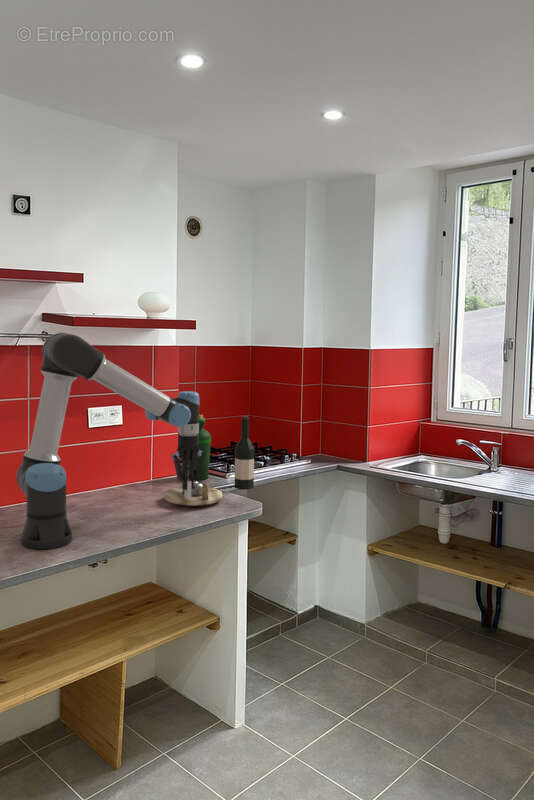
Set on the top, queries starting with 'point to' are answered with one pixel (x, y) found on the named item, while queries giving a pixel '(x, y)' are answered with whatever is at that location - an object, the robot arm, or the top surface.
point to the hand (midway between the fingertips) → (187, 497)
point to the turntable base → (193, 505)
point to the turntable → (207, 497)
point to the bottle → (204, 449)
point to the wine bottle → (244, 459)
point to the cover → (196, 489)
